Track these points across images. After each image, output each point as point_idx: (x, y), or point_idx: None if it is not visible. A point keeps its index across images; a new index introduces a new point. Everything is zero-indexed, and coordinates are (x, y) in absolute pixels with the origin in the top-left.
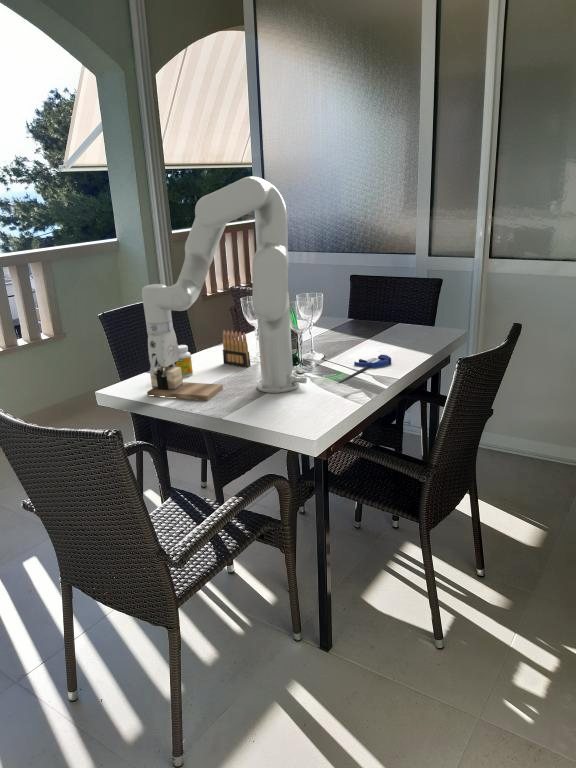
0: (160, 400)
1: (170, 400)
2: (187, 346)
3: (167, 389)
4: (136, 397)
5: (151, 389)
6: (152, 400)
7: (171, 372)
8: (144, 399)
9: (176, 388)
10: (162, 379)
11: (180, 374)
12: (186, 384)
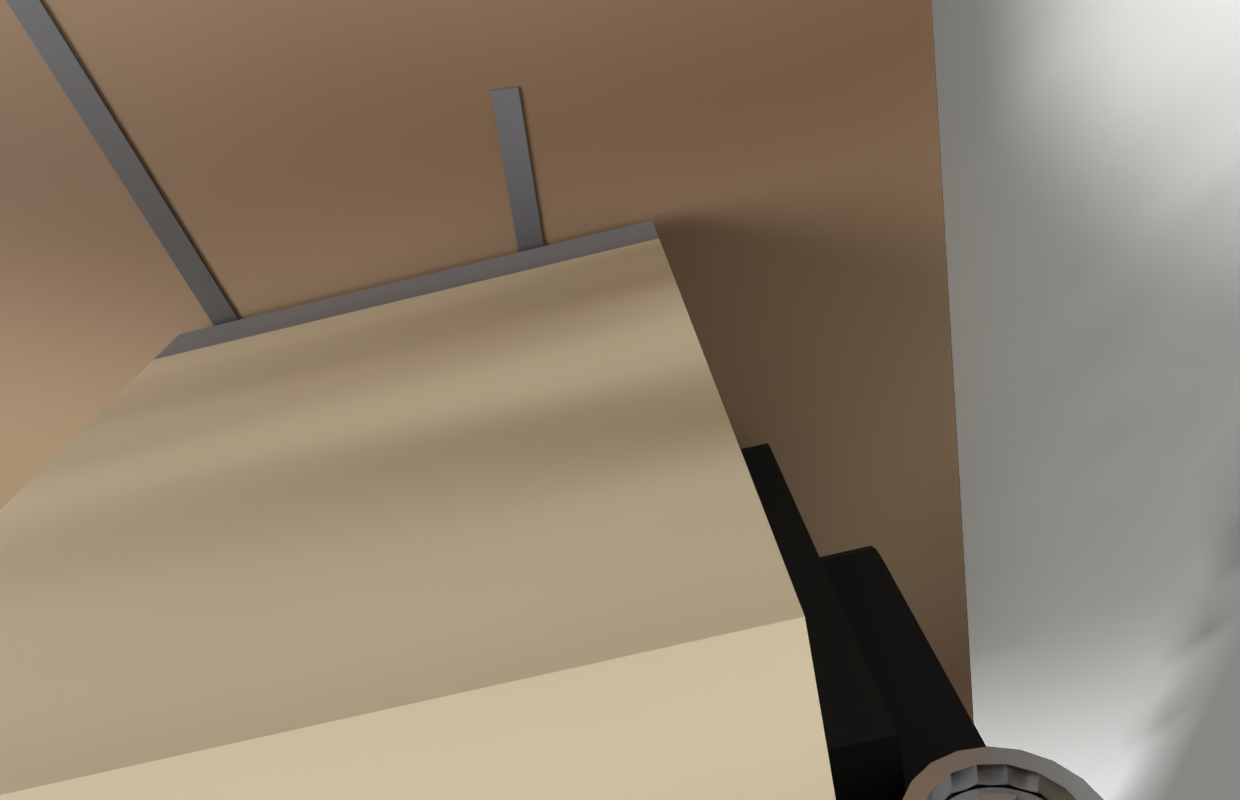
0: (1089, 275)
1: (1043, 16)
2: None
3: None
4: None
5: None
6: (1118, 441)
7: (803, 710)
8: (1088, 616)
9: (589, 238)
10: (970, 722)
11: (67, 532)
12: (56, 281)
